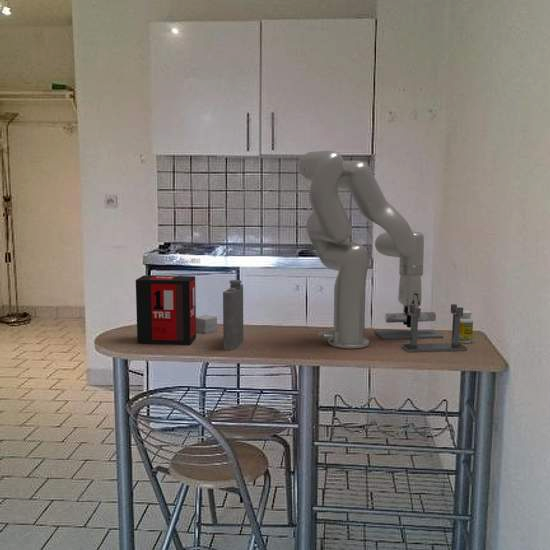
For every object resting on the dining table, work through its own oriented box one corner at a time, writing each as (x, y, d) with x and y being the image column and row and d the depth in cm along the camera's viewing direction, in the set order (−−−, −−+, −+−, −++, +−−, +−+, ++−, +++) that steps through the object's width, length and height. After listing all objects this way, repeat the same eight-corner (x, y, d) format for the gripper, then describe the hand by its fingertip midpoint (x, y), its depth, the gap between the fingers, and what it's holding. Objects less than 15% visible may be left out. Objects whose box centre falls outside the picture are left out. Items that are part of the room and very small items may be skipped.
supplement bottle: (462, 338, 206) (463, 308, 205) (475, 341, 202) (477, 311, 200) (450, 340, 203) (452, 310, 202) (464, 344, 199) (465, 313, 197)
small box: (205, 328, 218) (205, 314, 218) (217, 331, 215) (217, 316, 214) (193, 331, 214) (193, 317, 213) (205, 334, 211) (205, 319, 210)
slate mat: (382, 339, 204) (382, 337, 204) (375, 332, 213) (375, 330, 213) (443, 337, 207) (443, 336, 206) (433, 331, 215) (433, 329, 215)
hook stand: (408, 352, 189) (410, 309, 188) (402, 346, 195) (403, 304, 193) (466, 350, 191) (469, 307, 189) (459, 345, 197) (461, 303, 195)
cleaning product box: (196, 338, 205) (195, 276, 202) (190, 345, 196) (189, 280, 193) (145, 336, 206) (143, 275, 203) (137, 343, 198) (135, 279, 195)
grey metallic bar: (387, 323, 207) (387, 314, 207) (385, 321, 210) (385, 312, 210) (435, 321, 209) (435, 312, 208) (432, 319, 212) (432, 310, 211)
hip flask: (234, 337, 206) (234, 276, 203) (247, 338, 205) (246, 276, 202) (222, 350, 190) (221, 284, 187) (235, 351, 190) (235, 284, 187)
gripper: (392, 266, 214) (391, 320, 217) (407, 274, 198) (406, 332, 201) (414, 266, 215) (413, 319, 218) (431, 273, 199) (429, 331, 202)
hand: (409, 325), depth 210 cm, fingers closed on grey metallic bar, 3 cm apart
